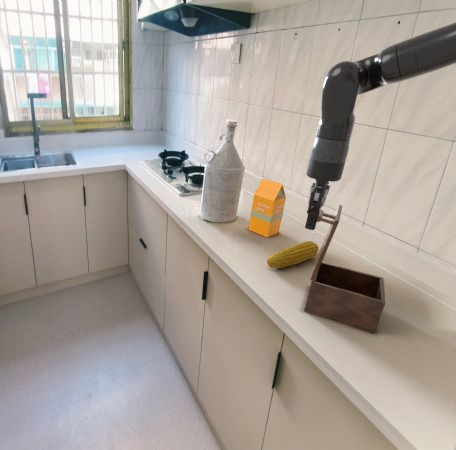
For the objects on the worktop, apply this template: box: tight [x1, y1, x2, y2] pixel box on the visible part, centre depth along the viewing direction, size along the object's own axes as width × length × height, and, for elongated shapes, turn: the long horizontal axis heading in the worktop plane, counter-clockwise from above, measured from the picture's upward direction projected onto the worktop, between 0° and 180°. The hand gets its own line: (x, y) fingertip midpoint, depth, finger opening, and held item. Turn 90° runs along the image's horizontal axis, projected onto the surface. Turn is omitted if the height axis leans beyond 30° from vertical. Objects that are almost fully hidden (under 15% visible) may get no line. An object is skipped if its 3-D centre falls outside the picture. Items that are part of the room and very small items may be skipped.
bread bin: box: [303, 261, 386, 334], centre depth 86 cm, size 16×13×9 cm
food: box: [266, 240, 319, 269], centre depth 108 cm, size 21×6×6 cm, turn 121°
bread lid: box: [310, 204, 343, 281], centre depth 85 cm, size 16×13×5 cm
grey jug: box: [198, 118, 246, 223], centre depth 135 cm, size 13×17×40 cm
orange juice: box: [248, 178, 287, 238], centre depth 127 cm, size 8×9×20 cm
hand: (311, 224), depth 85 cm, fingers closed on bread lid, 5 cm apart
